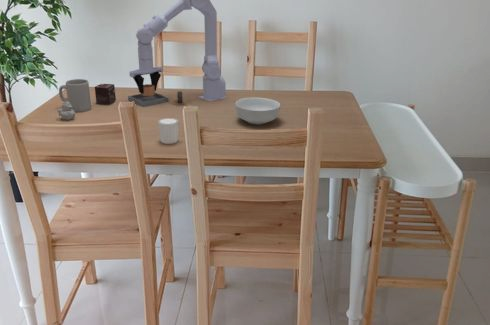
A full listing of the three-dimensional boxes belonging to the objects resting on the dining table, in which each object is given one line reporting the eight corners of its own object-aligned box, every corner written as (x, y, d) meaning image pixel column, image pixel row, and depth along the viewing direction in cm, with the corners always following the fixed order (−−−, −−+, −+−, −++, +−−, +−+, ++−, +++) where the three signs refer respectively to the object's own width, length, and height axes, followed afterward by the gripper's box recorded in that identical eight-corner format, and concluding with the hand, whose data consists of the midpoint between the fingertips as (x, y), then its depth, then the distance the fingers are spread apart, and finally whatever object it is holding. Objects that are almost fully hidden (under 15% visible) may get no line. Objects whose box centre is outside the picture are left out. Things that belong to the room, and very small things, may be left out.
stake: (182, 99, 203) (182, 88, 201) (193, 104, 198) (193, 92, 196) (166, 103, 198) (166, 91, 196) (177, 107, 193) (177, 95, 191)
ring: (157, 94, 198) (156, 86, 196) (145, 96, 194) (145, 88, 193) (146, 90, 203) (146, 82, 201) (135, 92, 199) (135, 84, 198)
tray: (153, 96, 207) (152, 91, 206) (168, 102, 199) (168, 97, 198) (128, 101, 199) (128, 96, 198) (143, 108, 191) (143, 102, 190)
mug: (94, 106, 192) (91, 79, 188) (86, 112, 185) (83, 85, 180) (66, 104, 193) (62, 78, 189) (56, 111, 186) (52, 83, 181)
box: (109, 105, 194) (107, 87, 191) (96, 104, 195) (94, 86, 192) (116, 101, 199) (114, 84, 196) (103, 100, 200) (101, 83, 197)
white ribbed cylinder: (159, 137, 163) (158, 117, 160) (179, 137, 163) (179, 117, 160) (157, 144, 156) (156, 124, 153) (179, 144, 157) (178, 124, 154)
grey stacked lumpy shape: (71, 122, 174) (68, 101, 171) (55, 120, 175) (51, 99, 172) (78, 117, 179) (76, 97, 176) (62, 116, 180) (60, 95, 177)
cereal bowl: (265, 132, 169) (266, 113, 167) (226, 123, 177) (226, 104, 174) (287, 119, 183) (288, 101, 180) (250, 111, 191) (250, 94, 188)
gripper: (155, 54, 199) (157, 86, 204) (124, 59, 190) (127, 92, 195) (165, 57, 194) (166, 90, 200) (133, 62, 185) (136, 96, 191)
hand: (147, 91), depth 197 cm, fingers closed on ring, 5 cm apart
